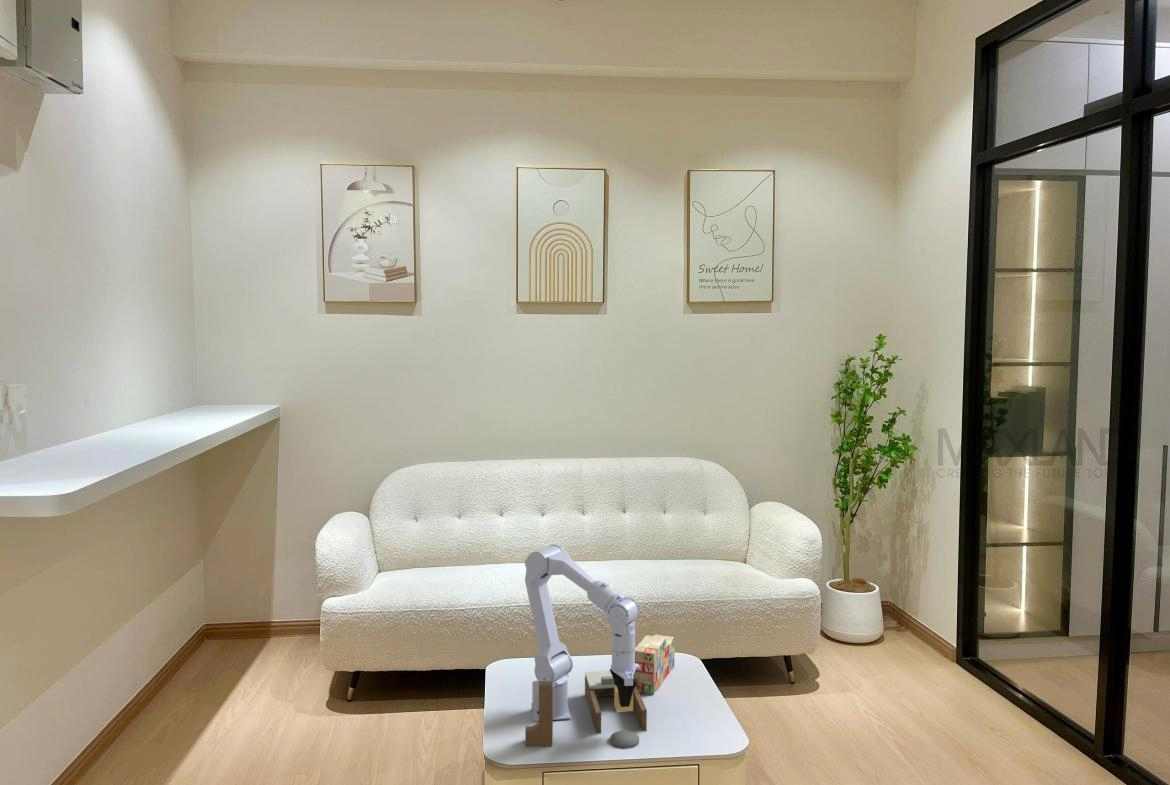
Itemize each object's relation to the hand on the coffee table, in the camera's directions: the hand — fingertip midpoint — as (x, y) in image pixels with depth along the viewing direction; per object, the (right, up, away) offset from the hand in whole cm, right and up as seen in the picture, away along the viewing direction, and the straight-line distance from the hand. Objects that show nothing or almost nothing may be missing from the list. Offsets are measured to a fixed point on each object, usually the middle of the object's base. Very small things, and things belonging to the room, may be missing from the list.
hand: (623, 701), depth 200 cm
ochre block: (0, -2, 0) cm, 2 cm away
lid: (-3, -2, +19) cm, 20 cm away
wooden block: (-21, -9, -4) cm, 23 cm away
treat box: (-2, -8, +13) cm, 15 cm away
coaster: (0, -9, -2) cm, 9 cm away
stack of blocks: (+11, -7, +34) cm, 36 cm away
